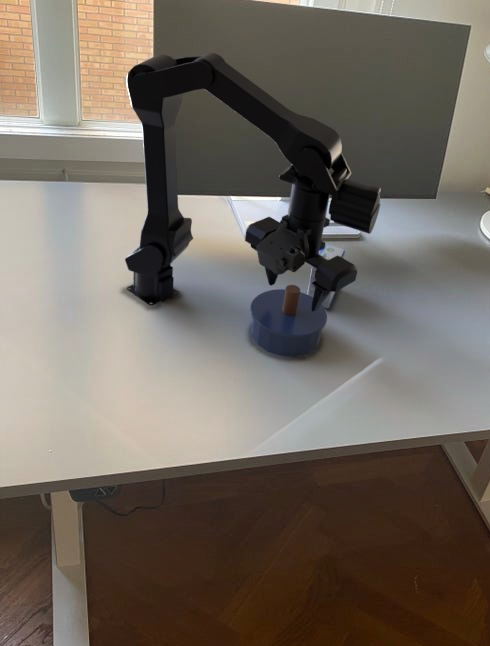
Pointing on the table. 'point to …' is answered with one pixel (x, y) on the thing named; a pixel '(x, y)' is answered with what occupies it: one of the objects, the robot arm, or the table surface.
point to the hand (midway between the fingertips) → (292, 297)
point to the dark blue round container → (284, 342)
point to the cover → (288, 312)
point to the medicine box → (328, 254)
